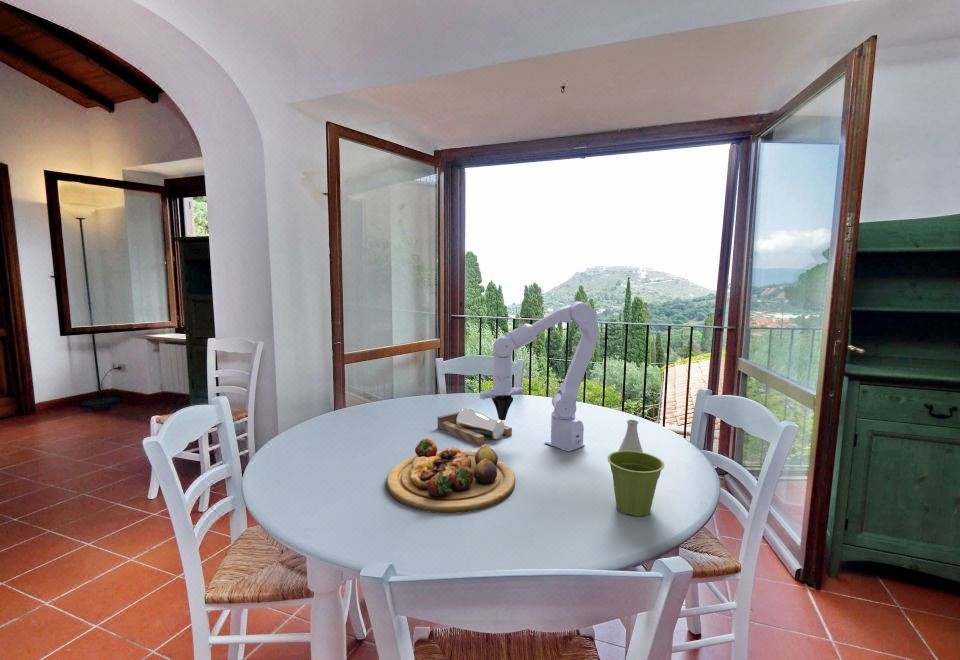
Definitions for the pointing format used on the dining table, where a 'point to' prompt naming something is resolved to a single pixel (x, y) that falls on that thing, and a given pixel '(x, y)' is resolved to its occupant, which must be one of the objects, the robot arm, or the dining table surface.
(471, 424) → the beer glass
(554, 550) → the dining table surface
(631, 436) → the flask
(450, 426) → the cradle
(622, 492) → the plant pot
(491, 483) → the wooden plate with food
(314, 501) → the dining table surface
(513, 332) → the robot arm
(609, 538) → the dining table surface
